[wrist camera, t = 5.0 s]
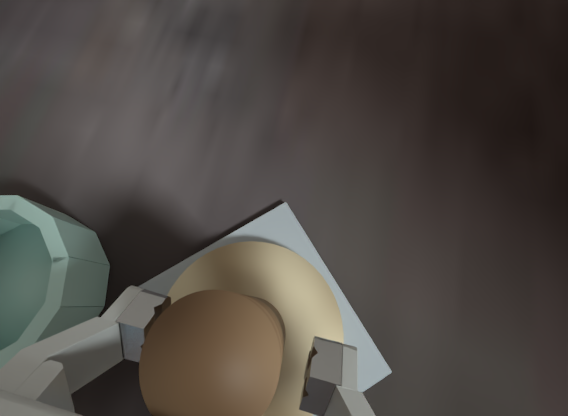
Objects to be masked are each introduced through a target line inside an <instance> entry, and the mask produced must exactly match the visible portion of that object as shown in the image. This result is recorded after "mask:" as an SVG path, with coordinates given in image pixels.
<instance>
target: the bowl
mask: <svg viewBox="0 0 568 416" xmlns="http://www.w3.org/2000/svg"><path fill="white" fill-rule="evenodd" d="M109 265H110V264H109V262H108V260H107V257H106V255H105V253H104V251H103V248H102V246H101V244H100V241H99V239H98V237H97V235H96V233H95V232H94V231H93V230H91V229H89V228H88V227H86V226H84V225H83V224H81V223H79V222H78V221H76V220H74V219H73V218H71V217H70V216H68V215H66V214H64V213H61V212H59V211H56V210H54V209H51V208H49V207H46V206H44V205H41V204H39V203H36V202H34V201H31V200H28V199H26V198H23V197H21V196H18V195H0V369H1V368H2V367H3V366H4V365H5V364H6V363H7V362H8V361H9V360H11V359H12V358H13V357H14V356H15V355H16V354H17V353H18V352H19V351H20V350H21V349H23V348H26V347H28V346H30V345H32V344H35V343H37V342H39V341H42V340H44V339H46V338H49V337H51V336H53V335H55V334H58V333H60V332H62V331H65V330H67V329H69V328H71V327H74V326H76V325H78V324H81V323H83V322H85V321H87V320H90V319H92V318H94V317H98V316H99V314H100V313H101V311H102V310H103V308H104V306H105V300H106V292H107V285H108V277H109V269H110V266H109Z"/></svg>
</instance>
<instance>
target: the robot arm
mask: <svg viewBox="0 0 568 416" xmlns="http://www.w3.org/2000/svg"><path fill="white" fill-rule="evenodd" d="M170 305H171V297H169V296H166V295H163V294H159V293H156V292H153V291H149V290H146V289H142V288H139V287H136V286H132V285H131V286H129V287H128V288H126V290H125V291H124V292H123V293H122V294H121V295H120V296H119V297H118V298H117V300H116V301H115V302H114V303H113V304H112V305H111V306H110V307H109V308H108V310H107V311H106V312H105V313H104V314H103V315H102V316H101V317H94V318H92V319H90V320H87V321H85V322H83V323H81V324H78V325H76V326H74V327H71V328H69V329H67V330H65V331H62V332H60V333H58V334H55V335H53V336H51V337H49V338H46V339H44V340H42V341H39V342H37V343H35V344H32V345H30V346H28V347H26V348H23V349H21V350H20V351H19V352H18V353H17V354H16V355H15V356H14V357H13V358H12V359H11V360H9V361H8V362H7V363H6V364H5V365H4V366H3V367H2V368H1V369H0V416H83V415H80V414H77V413H74V412H75V409H74V404H73V401H72V397H71V394H72V393H73V392H75V391H77V390H78V389H80V388H81V387H83V386H84V385H86V384H87V383H89V382H90V381H92V380H93V379H95V378H96V377H98V376H99V375H101V374H102V373H104V372H105V371H107V370H108V369H110V368H111V367H113V366H114V365H116V364H117V363H119V362H121V361H122V360H123V358H124V359H128V360H131V361H135V362H139V361H140V355H141V351H142V347H143V344H144V341H145V339H146V336H147V334H148V332H149V330H150V328H151V327H152V325H153V324H154V322H155V321H156V319H157V318H158V317H159V316H160V315H161V314H162V312H163V311H164V310H165V309H167V308H168V307H169V306H170ZM304 380H305V381H304V385H303V388H302V392H301V399H300V405H299V410H302V411H305V412H308V413H311V414H314V415H317V416H375V414H374V412H373V411H372V409H371V407H370V405H369V404H368V402H367V400H366V398H365V397H364V395H363V393H362V392H359V391H358V350H357V347H354V346H351V345H347V344H343V343H340V342H337V341H333V340H329V339H325V338H321V337H317V336H314V338H313V341H312V347H311V351H309V355H308V359H307V363H306V367H305V373H304Z"/></svg>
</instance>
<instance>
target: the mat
mask: <svg viewBox="0 0 568 416" xmlns="http://www.w3.org/2000/svg"><path fill="white" fill-rule="evenodd" d="M247 241H256V242H266V243H271V244H275V245H278V246H281V247H284V248H287V249H289V250H291V251H293V252H295V253H296V254H298V255H300V256H301V257H303V258H304V259H305V260H307V261H308V262H309V263H310V264H311V265H313V266H314V267H315V269H316V270H317V271H318V272H319V273H320V274H321V275H322V276H323V278H324V279H325V281H326V282H327V284H328V285H329V287H330V289H331V291H332V292H333V294H334V296H335V299H336V301H337V304H338V307H339V310H340V314H341V318H342V324H343V333H344V344H347V345H351V346H354V347H357V350H358V391H359V392H364V391H365V390H367V389H368V388H369V387H371V386H372V385H374V384H375V383H377V382H378V381H380V380H381V379H383V378H384V377H386V376H387V375H389V374H390V373H392V371H391V370H390V368H389V367H388V365H387V363H386V362H385V360H384V359H383V357H382V355H381V354H380V352H379V351H378V349H377V347H376V346H375V344H374V343H373V341H372V339H371V338H370V336H369V335H368V333H367V331H366V330H365V328H364V326H363V325H362V323H361V322H360V320H359V318H358V317H357V315H356V314H355V312H354V310H353V309H352V307H351V306H350V304H349V302H348V301H347V299H346V298H345V296H344V294H343V293H342V291H341V290H340V288H339V286H338V285H337V283H336V282H335V280H334V278H333V277H332V275H331V274H330V272H329V270H328V269H327V267H326V265H325V264H324V262H323V261H322V259H321V257H320V256H319V254H318V253H317V251H316V249H315V248H314V246H313V245H312V243H311V241H310V240H309V238H308V237H307V235H306V233H305V232H304V230H303V229H302V227H301V225H300V224H299V222H298V221H297V219H296V217H295V216H294V214H293V213H292V211H291V209H290V208H289V206H288V205H287V203H286V202H285V203H283V204H281V205H280V206H278V207H276V208H274V209H273V210H271V211H269V212H267V213H266V214H264V215H262V216H260V217H259V218H257V219H255V220H253V221H252V222H250V223H248V224H246V225H245V226H243V227H241V228H239V229H238V230H236V231H234V232H232V233H231V234H229V235H227V236H225V237H224V238H222V239H220V240H218V241H217V242H215V243H213V244H211V245H210V246H208V247H206V248H204V249H203V250H201V251H199V252H197V253H196V254H194V255H192V256H191V257H189V258H187V259H185V260H184V261H182V262H180V263H178V264H177V265H175V266H173V267H171V268H170V269H168V270H166V271H164V272H163V273H161V274H159V275H157V276H156V277H154V278H152V279H150V280H149V281H147V282H145V283H143V284H142V285H140V286H138V287H139V288H142V289H146V290H149V291H153V292H156V293H159V294H163V295H166V296H167V295H168V293H169V291H170V289H171V287H172V286H173V285H174V283H175V282H176V280H177V279H178V278H179V276H180V275H181V274H182V273H183V272H184V271H185V270H186V269H187V268H188V267H189V266H190V265H191V264H192V263H194V262H195V261H196V260H197V259H199V258H200V257H202V256H203V255H205V254H206V253H208V252H211V251H213V250H215V249H217V248H219V247H222V246H225V245H228V244H233V243H238V242H247ZM312 416H317V415H314V414H313V415H312Z"/></svg>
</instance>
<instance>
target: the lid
mask: <svg viewBox="0 0 568 416" xmlns="http://www.w3.org/2000/svg"><path fill="white" fill-rule="evenodd" d="M167 296H169V297H171V305H170V306H169V307H168V308H167V309H165V310H164V311H163V312H162V314H161V315H160V316H159V317H158V318H157V319H156V321H155V322H154V324H153V325H152V327H151V328H150V330H149V332H148V334H147V336H146V339H145V341H144V344H143V347H142V351H141V355H140V361H139V382H140V388H141V392H142V396H143V399H144V401H145V404H146V406H147V408H148V410H149V412H150V413H151V415H152V416H312V415H313V414H311V413H308V412H305V411H302V410H299V405H300V399H301V392H302V388H303V385H304V381H305V380H304V373H305V367H306V363H307V359H308V355H309V351H311V347H312V341H313V338H314V336H317V337H321V338H325V339H329V340H333V341H337V342H340V343H343V344H344V333H343V324H342V318H341V314H340V310H339V307H338V304H337V301H336V299H335V296H334V294H333V292H332V291H331V289H330V287H329V285H328V284H327V282H326V281H325V279H324V278H323V276H322V275H321V274H320V273H319V272H318V271H317V270H316V269H315V267H314V266H313V265H311V264H310V263H309V262H308V261H307V260H305V259H304V258H303V257H301V256H300V255H298V254H296V253H295V252H293V251H291V250H289V249H287V248H284V247H281V246H278V245H275V244H271V243H266V242H256V241H247V242H238V243H233V244H228V245H225V246H222V247H219V248H217V249H215V250H213V251H211V252H208V253H206V254H205V255H203V256H202V257H200V258H199V259H197V260H196V261H195V262H194V263H192V264H191V265H190V266H189V267H188V268H187V269H186V270H185V271H184V272H183V273H182V274H181V275H180V276H179V278H178V279H177V280H176V282H175V283H174V285H173V286H172V287H171V289H170V291H169V293H168V295H167Z"/></svg>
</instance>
